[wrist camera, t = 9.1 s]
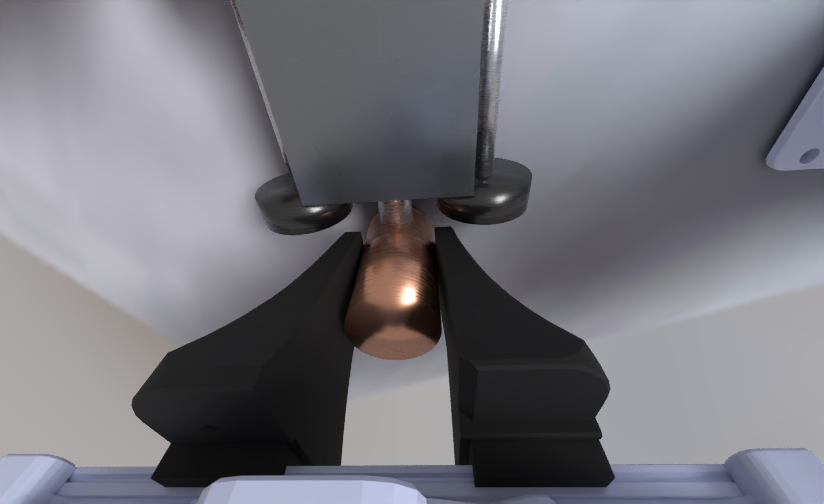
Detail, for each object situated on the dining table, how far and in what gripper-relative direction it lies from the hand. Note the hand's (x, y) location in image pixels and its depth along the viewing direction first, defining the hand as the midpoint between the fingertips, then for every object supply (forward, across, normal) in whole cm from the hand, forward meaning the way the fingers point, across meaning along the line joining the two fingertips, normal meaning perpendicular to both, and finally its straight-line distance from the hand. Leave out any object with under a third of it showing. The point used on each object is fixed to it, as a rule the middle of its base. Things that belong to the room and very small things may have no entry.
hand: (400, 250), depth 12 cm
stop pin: (+1, 0, -3) cm, 3 cm away
